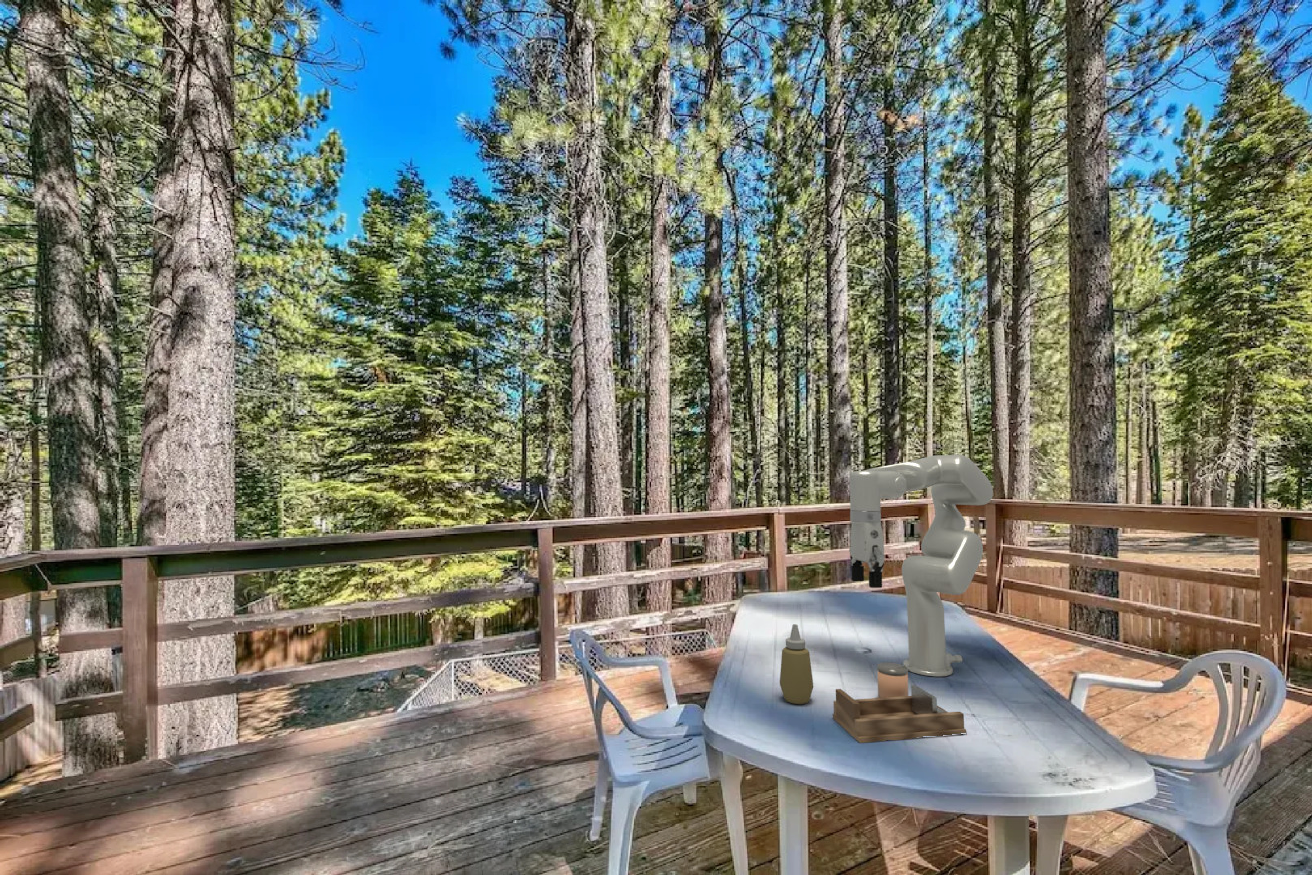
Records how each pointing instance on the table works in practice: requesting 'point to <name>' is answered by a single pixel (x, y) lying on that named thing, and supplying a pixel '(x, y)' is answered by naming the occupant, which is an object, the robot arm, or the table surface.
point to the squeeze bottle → (796, 670)
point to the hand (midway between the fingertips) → (866, 584)
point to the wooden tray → (891, 719)
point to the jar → (892, 680)
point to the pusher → (923, 702)
